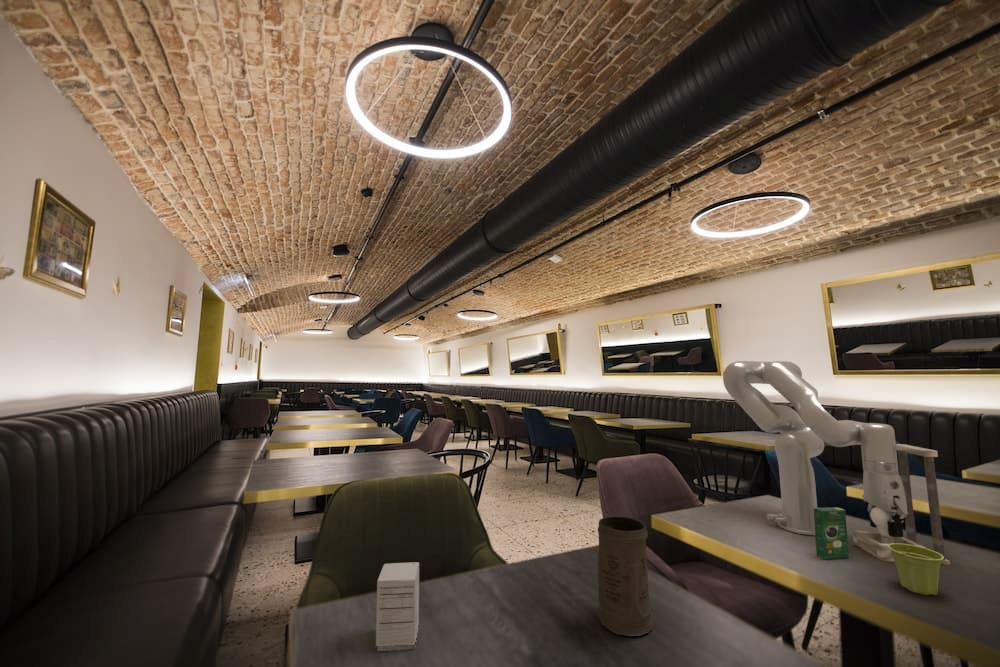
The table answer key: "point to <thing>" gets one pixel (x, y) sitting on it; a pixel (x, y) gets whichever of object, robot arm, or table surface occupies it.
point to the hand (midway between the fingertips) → (886, 531)
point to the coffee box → (831, 533)
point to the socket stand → (909, 509)
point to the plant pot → (917, 567)
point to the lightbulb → (882, 524)
